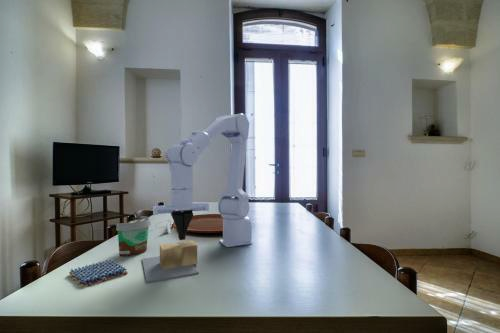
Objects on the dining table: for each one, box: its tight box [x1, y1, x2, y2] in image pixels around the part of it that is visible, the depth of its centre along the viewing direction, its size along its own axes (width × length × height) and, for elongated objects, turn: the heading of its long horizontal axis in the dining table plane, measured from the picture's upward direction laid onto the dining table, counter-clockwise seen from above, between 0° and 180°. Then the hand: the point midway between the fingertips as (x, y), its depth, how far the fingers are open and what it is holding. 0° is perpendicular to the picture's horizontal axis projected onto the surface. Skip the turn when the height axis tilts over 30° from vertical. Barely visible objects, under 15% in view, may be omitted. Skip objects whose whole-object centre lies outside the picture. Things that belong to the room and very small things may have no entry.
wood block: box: [159, 240, 198, 270], centre depth 71 cm, size 5×5×9 cm
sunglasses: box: [148, 216, 175, 234], centre depth 108 cm, size 14×8×5 cm, turn 6°
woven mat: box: [68, 259, 129, 288], centre depth 65 cm, size 10×11×2 cm
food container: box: [115, 215, 152, 258], centre depth 82 cm, size 12×6×10 cm, turn 168°
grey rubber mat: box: [141, 255, 199, 284], centre depth 70 cm, size 12×16×1 cm
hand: (181, 238), depth 71 cm, fingers closed
